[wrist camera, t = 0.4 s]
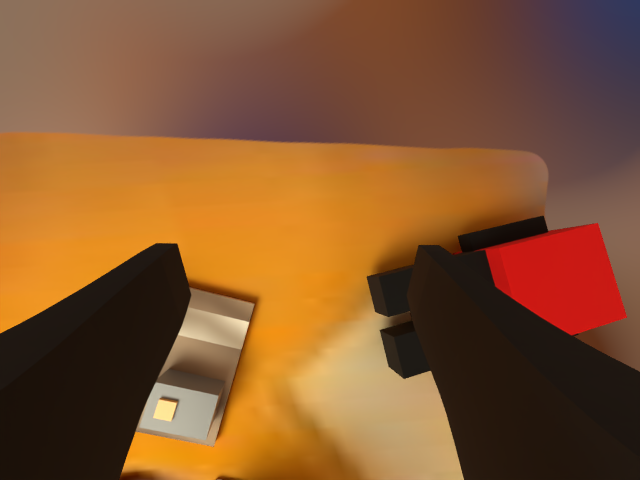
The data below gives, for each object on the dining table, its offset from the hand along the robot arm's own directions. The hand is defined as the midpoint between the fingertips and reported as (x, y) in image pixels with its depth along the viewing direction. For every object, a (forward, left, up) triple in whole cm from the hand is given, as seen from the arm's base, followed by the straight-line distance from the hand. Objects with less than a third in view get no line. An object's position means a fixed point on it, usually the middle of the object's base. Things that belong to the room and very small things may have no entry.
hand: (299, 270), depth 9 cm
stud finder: (-15, +6, -26) cm, 30 cm away
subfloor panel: (-12, +8, -27) cm, 30 cm away
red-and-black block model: (+3, -23, -27) cm, 36 cm away
